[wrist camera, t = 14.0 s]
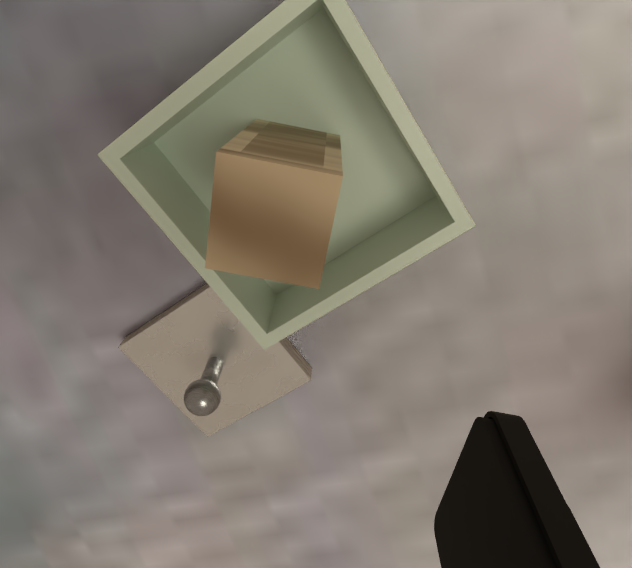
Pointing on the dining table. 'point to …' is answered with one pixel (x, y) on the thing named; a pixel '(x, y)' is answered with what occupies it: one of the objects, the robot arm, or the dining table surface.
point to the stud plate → (213, 361)
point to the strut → (274, 203)
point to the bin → (306, 112)
